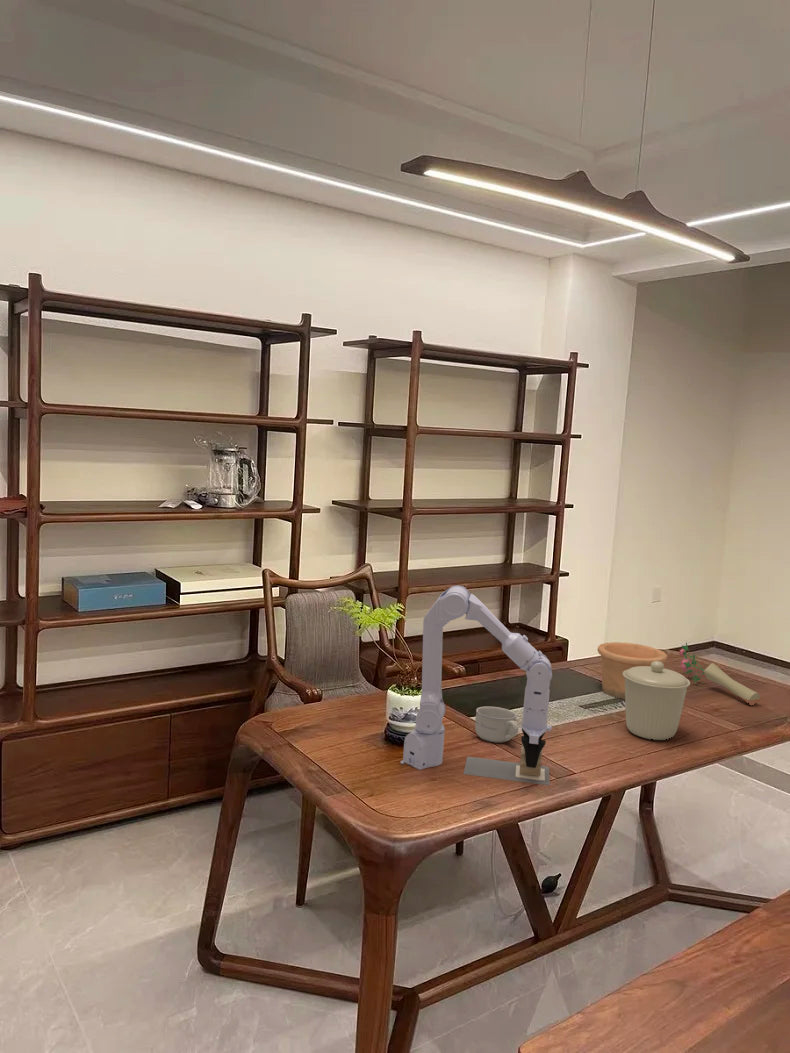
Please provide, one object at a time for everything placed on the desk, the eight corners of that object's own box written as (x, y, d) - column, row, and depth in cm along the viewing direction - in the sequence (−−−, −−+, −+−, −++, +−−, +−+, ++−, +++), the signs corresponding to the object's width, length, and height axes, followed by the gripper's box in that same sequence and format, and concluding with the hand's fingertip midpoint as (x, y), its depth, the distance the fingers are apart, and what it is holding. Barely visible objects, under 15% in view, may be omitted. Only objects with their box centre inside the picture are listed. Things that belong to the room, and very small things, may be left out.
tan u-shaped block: (540, 775, 189) (542, 751, 189) (519, 773, 190) (521, 748, 189) (540, 767, 194) (541, 743, 193) (519, 765, 195) (521, 741, 194)
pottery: (615, 704, 252) (619, 660, 251) (582, 683, 274) (586, 641, 272) (676, 703, 257) (680, 659, 256) (640, 682, 279) (644, 642, 277)
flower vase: (738, 727, 261) (661, 674, 290) (765, 714, 265) (688, 662, 295) (740, 698, 256) (662, 646, 285) (769, 684, 260) (689, 635, 290)
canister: (648, 749, 216) (656, 672, 213) (604, 725, 232) (610, 654, 230) (698, 742, 223) (706, 668, 221) (652, 720, 240) (659, 651, 237)
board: (463, 777, 189) (463, 773, 189) (466, 760, 200) (467, 755, 200) (549, 789, 186) (549, 784, 186) (548, 770, 197) (549, 766, 197)
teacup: (467, 734, 218) (469, 705, 217) (502, 731, 222) (505, 703, 221) (491, 754, 205) (493, 723, 204) (528, 751, 209) (530, 721, 208)
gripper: (553, 719, 182) (548, 776, 184) (552, 699, 197) (547, 753, 198) (522, 715, 184) (517, 772, 185) (523, 696, 198) (518, 749, 199)
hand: (531, 762), depth 192 cm, fingers closed on tan u-shaped block, 5 cm apart
